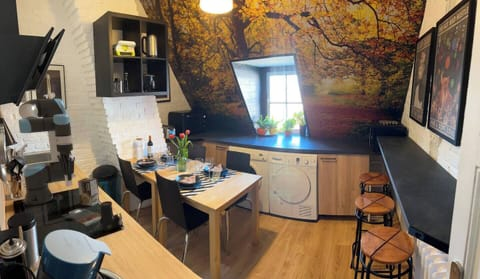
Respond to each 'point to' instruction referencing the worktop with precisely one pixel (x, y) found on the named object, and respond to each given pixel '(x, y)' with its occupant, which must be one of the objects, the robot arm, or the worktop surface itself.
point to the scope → (109, 216)
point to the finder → (76, 214)
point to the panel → (87, 218)
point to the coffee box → (88, 191)
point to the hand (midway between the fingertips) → (69, 185)
